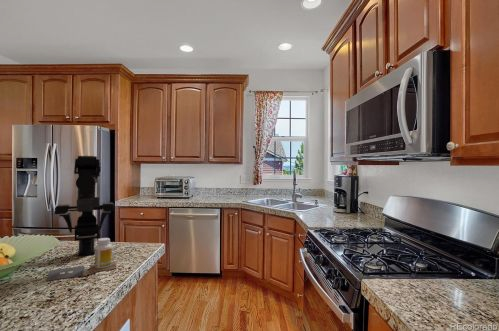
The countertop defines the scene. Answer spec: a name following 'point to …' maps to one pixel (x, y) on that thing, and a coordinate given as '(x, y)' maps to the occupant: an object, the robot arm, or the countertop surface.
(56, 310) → the countertop surface
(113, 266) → the walnut coaster
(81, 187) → the robot arm
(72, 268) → the mat
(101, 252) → the supplement bottle
